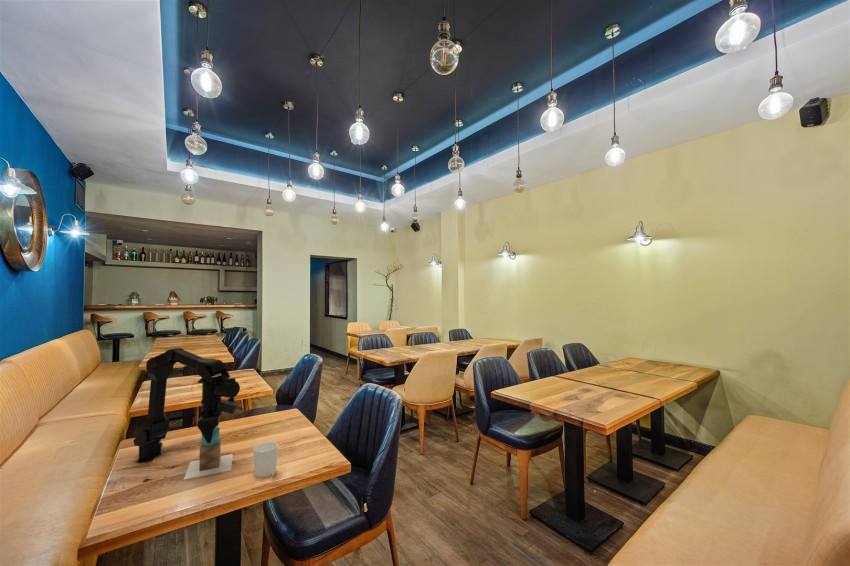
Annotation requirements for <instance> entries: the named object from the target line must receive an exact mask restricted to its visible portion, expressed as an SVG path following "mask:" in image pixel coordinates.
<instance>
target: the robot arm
mask: <svg viewBox="0 0 850 566" xmlns="http://www.w3.org/2000/svg"><path fill="white" fill-rule="evenodd" d="M177 363H178V364H181V365H183V366H185V367H188V368H191V369H193V370H195V374H196V375H197V376H199V377H200V379H198V380H197V384H201V385H202V389H201V390H202V391H201V393H202V394H201V401H200V403H201V411H200V418H198V420H197V429H198V430H199V431H200V433H201V435H202V434H203V436H204V438H205V440H206V442H207V443H211V440H212V435H213V431H214V428H215V427H219V425H220V416H221V415H222V412H224V413H228V414H230V415H233V414H235V412H236V409H237V407H238V402H237V401H235V397H237V396H238V394H239V392H240V389H241V386H240V384H239V382H238V381H236V378H235V377H231V375H230V373H229V372H228V369H227V368H226V367H225V365H224V362H223V361H222V360H221V359H216V358H206V357H205V358H204V357H202V356H199V355H197V354H194V353H192V352H190V351H187V350H185V349H184V348H183V347H177V348H176V347H175V348H169V349H168V350H166V351H165V352H162V353H160V354H158V355H156V356H154V357H150V358H149V359H148V360H147V361H146V365H145V368H146V370H145V371H146V374H147V376H148V377H149V379H150V387H149V396H148V397H149V398H148V406H147V407H148V408H147V417H146V418H145V420H144V421H143V422H142V424H141V427H140V430H139V431H140V432H139V433H138V434H137V435H136V437H135V438H134V439H133V444H134V446H135V447H138V460H136V463H137V464H139V463H145V462H149V461H151V462H152V461H154V460H155V457H159V456H162V454H163V445H164V444H163V442H162V440H163V439H166V436H167V434H168V431H169V430H170V419H169V418H166V416H165V407H166V406H165V404H166V392H167V381H168V378H169V376H170V375H171V374H172V372H173V371H174V366H175V365H176V364H177ZM230 377H231V378H230ZM223 398H228V399H223Z"/></svg>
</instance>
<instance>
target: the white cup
mask: <svg viewBox="0 0 850 566" xmlns="http://www.w3.org/2000/svg"><path fill="white" fill-rule="evenodd" d="M278 447H279V444H278V443H277V442H275V441H265V442H261V443H260V442H259V443H258V444H256V445H254V446H253V449H252V450H253V454H252V455H253V470H254V476H255V477H256V478H266V477H269V476H271V477H272V476H275V475H276V472H277V465H278V464H277V463H278V462H277V461H278Z"/></svg>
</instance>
